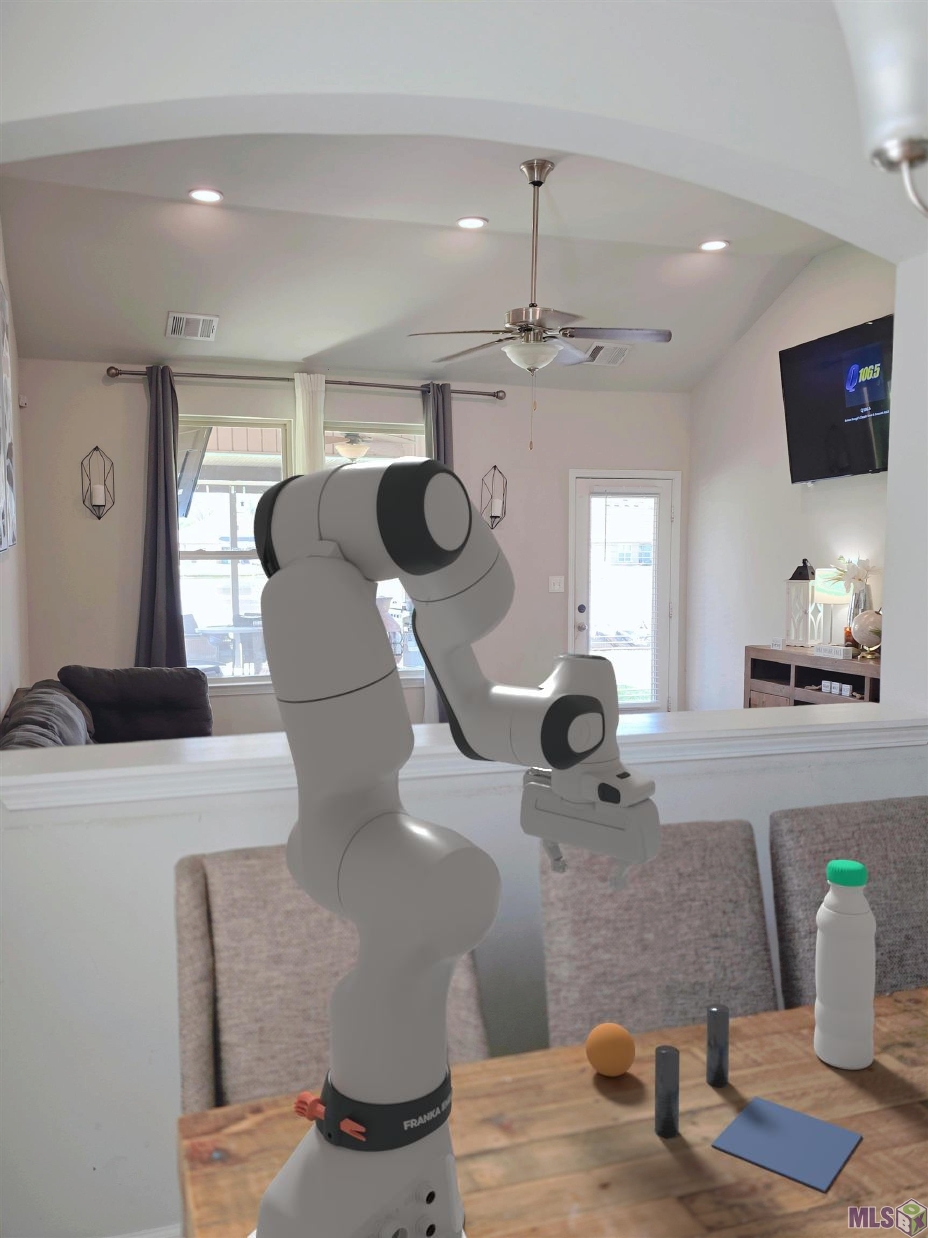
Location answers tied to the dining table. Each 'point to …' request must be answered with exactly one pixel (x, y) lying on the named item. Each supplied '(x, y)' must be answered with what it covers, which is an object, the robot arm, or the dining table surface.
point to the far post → (717, 1045)
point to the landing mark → (788, 1143)
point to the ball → (610, 1049)
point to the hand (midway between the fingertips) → (588, 880)
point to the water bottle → (845, 970)
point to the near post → (667, 1091)
